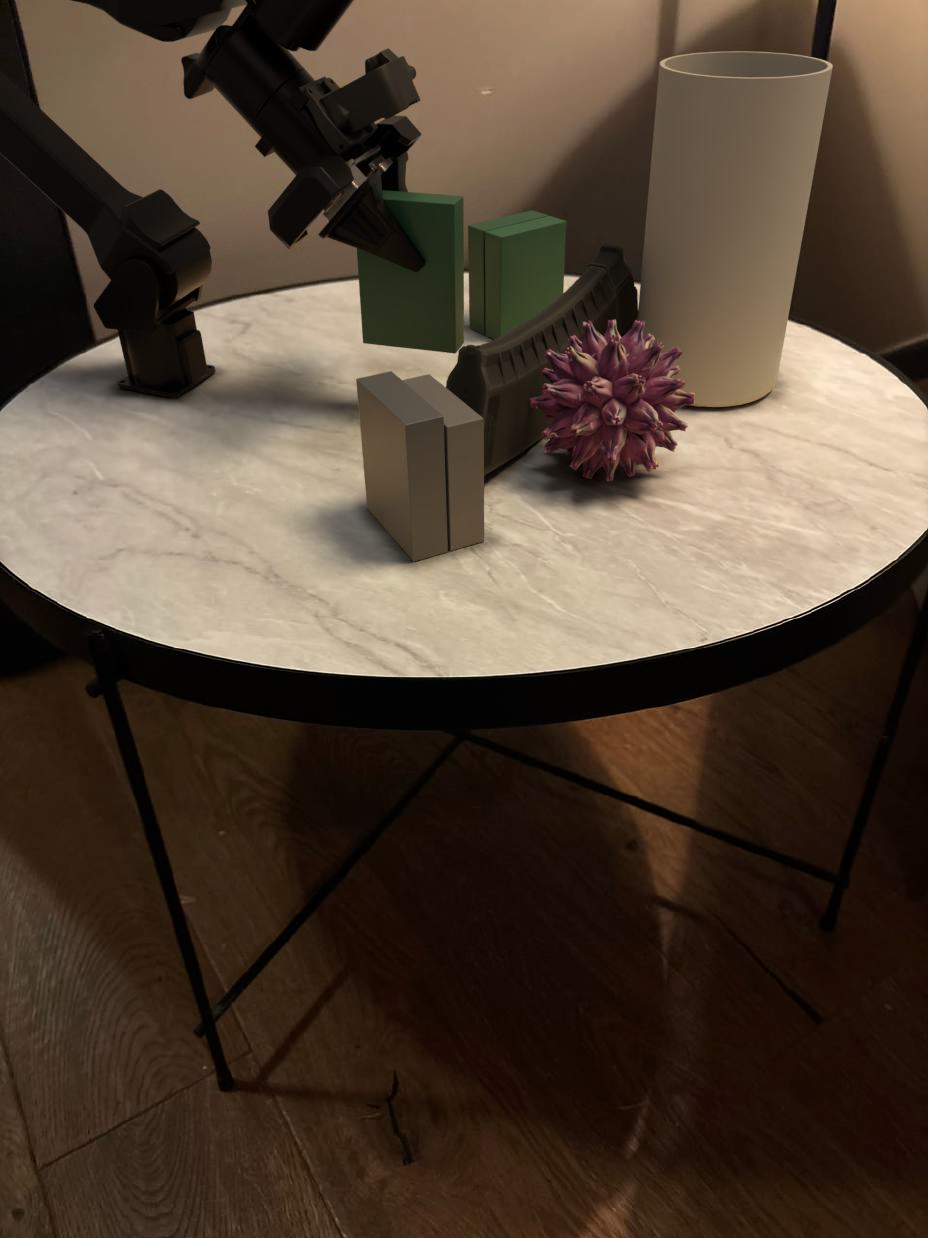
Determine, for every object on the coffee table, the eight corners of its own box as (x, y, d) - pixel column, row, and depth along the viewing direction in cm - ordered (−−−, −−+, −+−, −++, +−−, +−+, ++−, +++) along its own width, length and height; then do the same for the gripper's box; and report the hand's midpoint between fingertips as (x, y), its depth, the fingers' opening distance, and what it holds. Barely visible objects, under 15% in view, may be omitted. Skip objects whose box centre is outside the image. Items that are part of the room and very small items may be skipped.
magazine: (453, 399, 67) (635, 164, 81) (412, 389, 68) (598, 159, 83) (490, 569, 80) (641, 340, 95) (455, 558, 82) (609, 334, 96)
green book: (362, 343, 83) (352, 196, 77) (373, 333, 85) (364, 188, 78) (455, 353, 82) (454, 203, 75) (464, 342, 83) (463, 195, 77)
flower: (517, 469, 81) (643, 410, 84) (596, 534, 72) (734, 466, 75) (487, 335, 74) (625, 275, 76) (570, 389, 65) (724, 319, 67)
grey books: (366, 508, 74) (355, 378, 68) (434, 490, 76) (428, 362, 70) (413, 562, 68) (405, 425, 62) (484, 541, 70) (483, 406, 64)
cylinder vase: (634, 408, 86) (663, 78, 71) (630, 351, 96) (656, 51, 81) (785, 413, 85) (847, 78, 70) (766, 355, 95) (817, 50, 80)
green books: (500, 342, 98) (500, 236, 92) (469, 328, 102) (467, 224, 96) (562, 323, 102) (566, 220, 96) (530, 310, 105) (532, 209, 100)
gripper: (289, 30, 63) (462, 225, 67) (390, -3, 78) (527, 160, 82) (197, 159, 70) (359, 330, 74) (306, 107, 84) (437, 252, 88)
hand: (427, 262), depth 79 cm, fingers closed on green book, 2 cm apart
